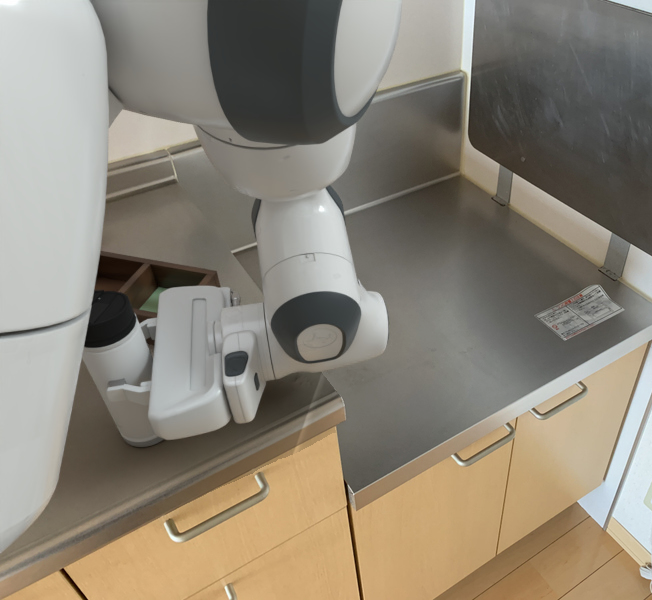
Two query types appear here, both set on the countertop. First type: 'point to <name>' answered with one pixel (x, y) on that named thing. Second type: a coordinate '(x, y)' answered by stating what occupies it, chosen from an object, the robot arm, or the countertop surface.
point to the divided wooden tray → (147, 280)
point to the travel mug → (119, 362)
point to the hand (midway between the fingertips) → (112, 365)
